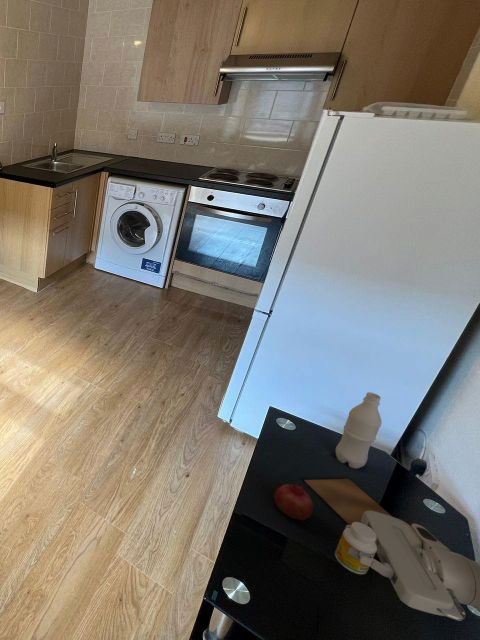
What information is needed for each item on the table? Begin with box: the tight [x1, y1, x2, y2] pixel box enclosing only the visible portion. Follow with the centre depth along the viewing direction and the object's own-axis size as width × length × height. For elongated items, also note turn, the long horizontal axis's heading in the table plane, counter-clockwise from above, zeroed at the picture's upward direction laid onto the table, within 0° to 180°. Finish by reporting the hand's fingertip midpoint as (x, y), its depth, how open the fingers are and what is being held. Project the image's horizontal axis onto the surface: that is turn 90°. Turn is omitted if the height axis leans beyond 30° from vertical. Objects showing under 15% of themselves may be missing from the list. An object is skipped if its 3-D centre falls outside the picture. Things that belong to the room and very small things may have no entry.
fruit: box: [273, 483, 314, 521], centre depth 108 cm, size 8×8×10 cm
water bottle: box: [334, 392, 382, 469], centre depth 123 cm, size 7×7×25 cm
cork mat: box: [303, 478, 393, 525], centre depth 112 cm, size 16×14×1 cm
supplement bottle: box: [334, 522, 377, 575], centre depth 88 cm, size 5×5×10 cm
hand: (352, 542), depth 88 cm, fingers closed on supplement bottle, 5 cm apart
